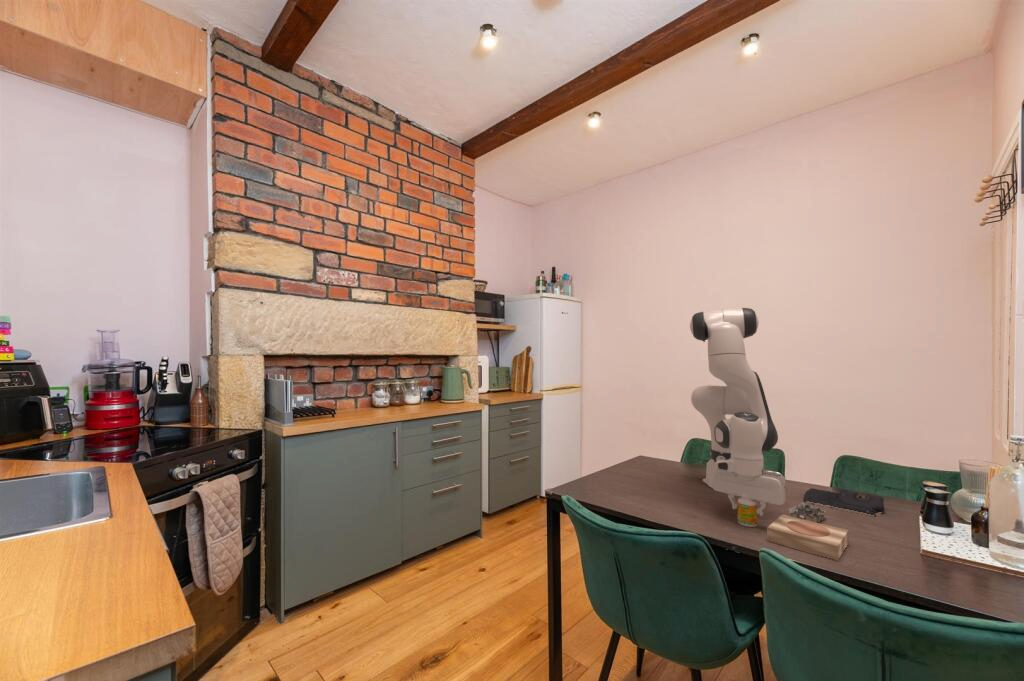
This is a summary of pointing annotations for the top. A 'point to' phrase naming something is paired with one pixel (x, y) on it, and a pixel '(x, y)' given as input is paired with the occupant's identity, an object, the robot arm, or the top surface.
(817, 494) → the dark slate chunk
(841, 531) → the birch base
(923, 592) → the top surface
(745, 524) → the supplement bottle
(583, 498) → the top surface
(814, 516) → the grey gravel pile
